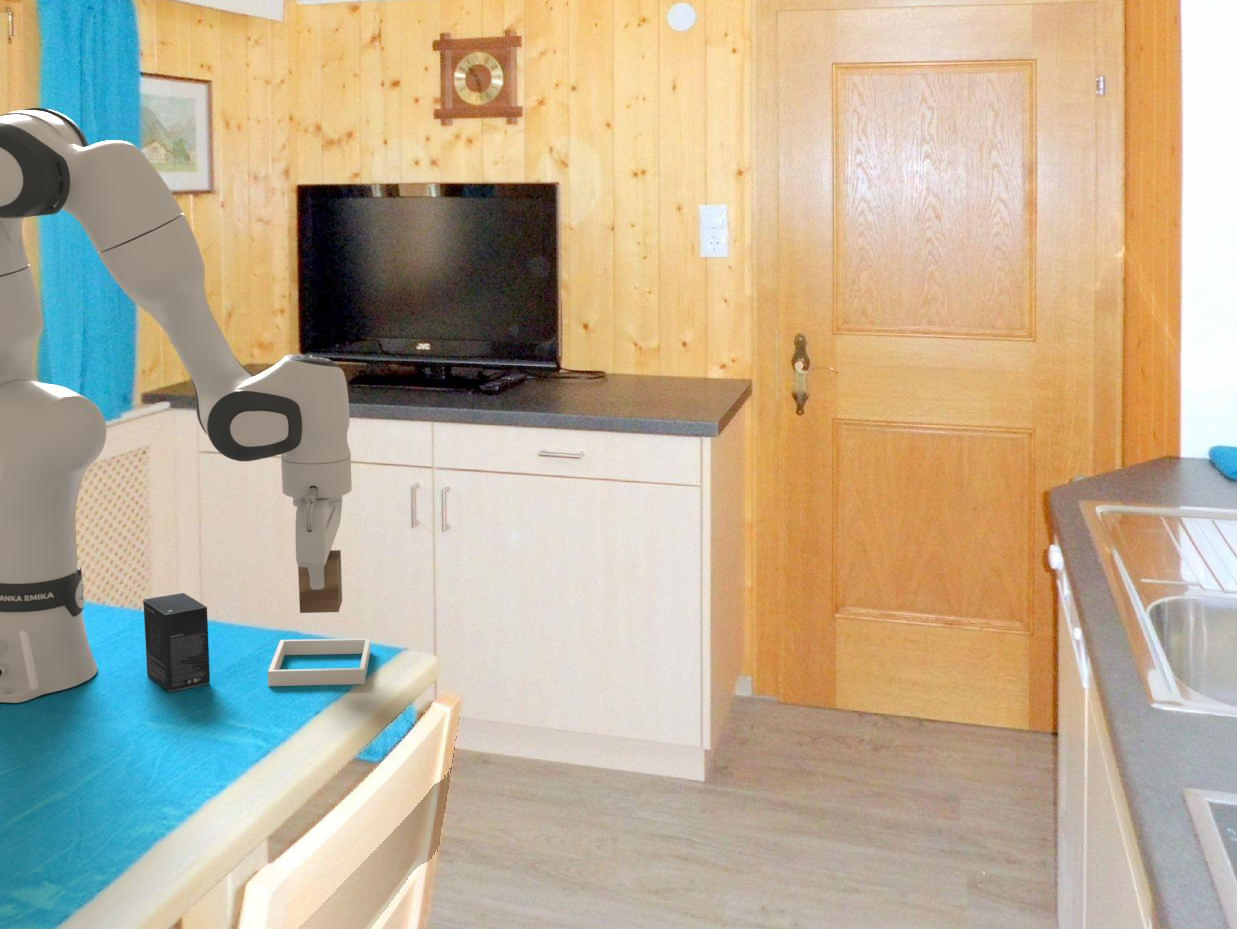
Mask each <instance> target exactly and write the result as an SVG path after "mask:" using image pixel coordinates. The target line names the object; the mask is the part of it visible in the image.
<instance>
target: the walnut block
mask: <svg viewBox="0 0 1237 929" xmlns="http://www.w3.org/2000/svg"><path fill="white" fill-rule="evenodd" d="M297 567H298V568H297V570H298V572H297V574H298V594H299V595H298V598H299V600H298V601H299V613H300V614H308V613H309V614H310V613H311V614H313V613H315V614H317V613H321V614H322V613H339V612H340V609H341V605H342V602H343V585H342V584H343V583H342V582H343V581H342V577H343V576H342V551H341V549H340V550H339V549H336V550H335V549H331V550H330V553H329V556H328V559H327V561H326V564H325V565H324V573H325V586H324V588H323V589H316V590H313V589H311V587H310V576H309V572H308V568H307V567H299V566H298V565H297Z"/></svg>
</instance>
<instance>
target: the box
mask: <svg viewBox="0 0 1237 929" xmlns="http://www.w3.org/2000/svg"><path fill="white" fill-rule="evenodd" d="M143 618H144V636H145V655H146V674H147V676H148V677H149V678H151V679H152V680H153V681H154V682H156V683H157V684H158V685H159V686H161V687H162V688H163V689H165V690H166V691H167V692H169V693H171V692H175V691H176V692H177V691H181V690H187V689H191V688H197V687H201V686H206V685H209V684H210V683H211V677H210V675H211V674H210V673H211V672H210V648H209V627H208V626H209V624H208V623H209V622H208V606H206V605H204V604H203V603H201V602H199V601H198V600H197V599H195V598H193V597H191V596H190V595H188V594H186V593H185V592H181V593H176V594H170V595H169V594H168V595H164V596H162V595H161V596H157V597H156V596H155V597H150V598H145V599H143Z"/></svg>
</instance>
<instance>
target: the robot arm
mask: <svg viewBox="0 0 1237 929" xmlns="http://www.w3.org/2000/svg"><path fill="white" fill-rule="evenodd" d="M166 183H167V182H165V181H164V179H163V178H162V176H161V174H160V173H159V171H158V170H157V169H156V168H155V166H154V165H153V164H152V162H151V161H150V160H149V158H148V157H147V156H146V155H145V153H144V152H143V151H142V150H141V149H140V148H139V147H137V146H136V145H135V144H133V143H131V142H128V141H123V140H117V139H116V140H105V141H100V142H96V143H94V144H91V145H89V143H88V140H87V138H86V135H85V134H84V132H83V131H82V129H81V128H80V126H78V124H76V122H75V121H73V120H72V119H71V118H70V117H68V116H67V115H65V114H63V113H60V112H59V111H55V110H53V109H47V108H42V107H31V108H30V107H29V108H25V109H23V110H17V111H16V110H15V111H11V112H8V113H7V112H6V113H3V114H1V115H0V703H7V704H8V703H9V704H11V703H12V704H18V703H25V702H27V701H30V700H32V699H35V698H38V697H41V696H42V695H46V694H50V693H55V692H58V691H59V692H60V691H63V690H67V689H69V688H73V687H76V686H79V685H81V684H83V683H85V682H87V681H89V680H90V679H92V678H93V677H94V676H95V675H96V674H97V673H98V670H99V668H98V665H97V662H96V660H95V657H94V654H93V652H92V649H91V646H90V641H89V638H88V633H87V630H86V624H85V618H84V611H83V610H84V607H85V583H84V580H83V573H82V567H80V565H78V563H79V562H78V548H77V547H78V546H77V545H78V544H77V521H76V518H77V503H78V499H79V498H78V497H79V493H80V490H81V485H82V482H83V479H84V475H85V473H86V472H87V470H88V468H89V467H90V466H92V464H93V463H94V462H96V460H97V459H98V457H99V456H100V455H101V453H102V451H103V450H104V447H105V444H106V440H107V433H108V432H107V423H106V419H105V416H104V414H103V412H102V410H101V409H100V407H99V406H98V405H97V404H96V403H95V402H94V401H92V400H91V399H90V398H87V397H86V396H84V395H82V394H80V393H78V392H76V391H74V390H72V389H70V388H68V387H66V386H64V385H63V386H62V385H57V384H51V383H45V382H40V381H38V379H37V377H36V374H35V370H34V354H35V353H34V352H35V345H36V344H35V343H36V341H37V340H38V339H39V338H40V336H41V334H42V333H43V330H44V326H45V324H44V323H45V321H44V316H43V312H42V309H41V305H40V301H39V296H38V292H37V289H36V285H35V281H34V277H33V272H32V269H31V265H30V261H29V257H28V254H27V250H26V246H25V243H24V242H25V241H24V236H23V221H24V219H25V218H31V217H40V216H51V215H52V216H53V215H55V214H58V213H59V212H60V211H64V212H67V213H68V214H70V215H71V216H73V217H74V218H75V219H76V220H77V222H79V223H80V225H81V226H82V228H83V229H84V231H85V233H86V234H87V236H88V238H89V239H90V240H89V241H91V243H92V245H93V247H94V249H95V251H96V252H97V254H98V256H99V258H100V260H101V261H102V263H103V264H104V266H105V267H106V269H107V271H108V272H109V274H110V275H111V276H112V278H113V279H114V281H115V282H116V283H117V284H118V286H119V287H120V288H121V289H122V290H123V292H124V293H125V294H126V295H127V297H128V298H130V300H131V301H132V302H133V303H134V304H135V305H137V306H138V307H140V308H141V309H143V311H145V312H147V313H148V314H149V315H150V316H151V317H152V318H153V319H154V320H155V321H156V322H157V323H158V325H159V326H161V328H162V329H163V331H164V332H165V334H166V335H167V337H168V340H169V341H170V343H171V344H172V347H173V348H174V350H175V351H176V353H177V354H178V357H179V358H180V361H181V362H182V364H183V366H184V367H185V370H186V371H187V373H188V375H189V377H190V379H191V381H192V385H193V387H194V392H195V393H194V394H195V395H194V396H195V410H196V417H197V420H198V423H199V426H200V427H201V429H202V430H203V432H204V434H206V435H207V437H208V439H209V441H210V442H211V444H212V445H213V447H214V448H215V449H216V450H217V452H219V453H220V454H221V455H223V456H224V457H226V458H228V459H230V460H234V461H236V462H237V461H238V462H253V461H258V460H262V459H268V458H272V457H276V456H279V455H280V456H281V457H280V458H281V459H280V460H281V464H280V465H281V483H282V484H281V485H282V493H283V495H285V496H287V497H290V498H292V504H293V506H294V507H295V508H296V512H295V559H296V560H295V561H296V564H297V567H298V566H299V567H307V568H308V572H309V576H310V587H311V589H313V590H316V589H323V588H324V586H325V573H324V565H325V564H326V561H327V559H328V556H329V553H330V550H332V547H333V544H334V542H335V538H336V536H337V533H338V530H339V527H340V524H341V518H342V509H343V508H342V507H343V496H344V495H347V494H349V493H350V492H352V490H353V489H352V488H353V487H352V486H353V485H352V482H353V481H352V460H351V459H352V458H351V456H352V455H351V454H352V453H351V449H350V446H349V443H348V442H349V441H348V431H349V427H350V424H351V423H350V403H349V402H350V401H349V392H348V384H347V380H346V374H345V372H344V371H343V368H341V367H340V365H339V364H337V363H336V362H334V360H331V359H329V358H326V357H322V356H317V355H314V354H306V353H305V354H304V353H290V354H287V355H284V356H283V358H282V359H281V360H279V362H277V363H276V364H274V365H272V366H271V367H269V368H268V369H266V370H264V371H262V372H261V373H258V374H257V375H255V374H254V373H252V372H251V371H249V369H247V368H245V367H244V366H243V365H242V364H241V363H240V361H239V360H238V359H237V357H236V356H235V353H234V352H233V350H232V348H231V346H230V345H229V342H228V341H227V339H226V337H225V336H224V333H223V331H222V329H221V327H220V326H219V323H218V321H217V320H216V318H215V316H214V314H213V312H212V311H211V308H210V304H209V302H208V298H207V293H206V287H205V286H206V284H205V274H206V268H205V264H204V259H203V256H202V253H201V250H200V247H199V245H198V242H197V239H196V236H195V234H194V232H193V229H192V227H191V225H190V223H189V221H188V219H187V217H186V215H185V213H184V210H182V208H181V205H179V203H178V200H177V199H176V197H175V196H174V194H173V193H172V191H171V189H170V187H169V186H168V185H167V184H166Z"/></svg>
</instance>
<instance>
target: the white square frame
mask: <svg viewBox="0 0 1237 929" xmlns="http://www.w3.org/2000/svg"><path fill="white" fill-rule="evenodd" d="M354 654H355V655H356V654H357V655H361V654H362V655H361V660H360V665H359V667H350V668H348V667H347V668H343V667H342V668H300V669H298V668H295V669H293V668H291V669H288V668H287V669H281V666H282V663H283V661H284V658H285V656H298V655H299V656H306V655H309V656H311V655H354ZM370 656H371V637H370V638H369V637H367V638H366V637H365V638H363V637H362V638H318V639H317V638H316V639H311V638H310V639H305V638H303V639H280V640H279V643H278V645H277V648H276V650H275V652H274V655H273V657H272V660H271V663H270V666H269V668H268V670H267V677H268V678H267V679H268V681H267V684H268V687H289V686H290V687H292V686H296V687H299V686H326V685H327V686H331V685H332V686H333V685H334V686H337V685H338V686H339V685H343V686H344V685H365V683H366V677H367V672H368V666H369V661H370Z"/></svg>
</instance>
